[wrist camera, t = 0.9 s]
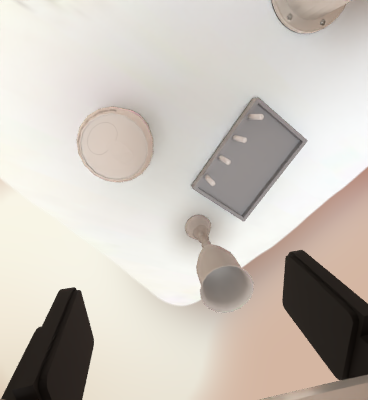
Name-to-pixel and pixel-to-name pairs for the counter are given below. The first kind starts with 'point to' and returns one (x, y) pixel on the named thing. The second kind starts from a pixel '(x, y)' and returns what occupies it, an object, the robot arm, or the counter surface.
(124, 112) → the supplement can
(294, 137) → the drying rack
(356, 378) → the robot arm
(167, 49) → the counter surface
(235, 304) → the chalice
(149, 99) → the counter surface
